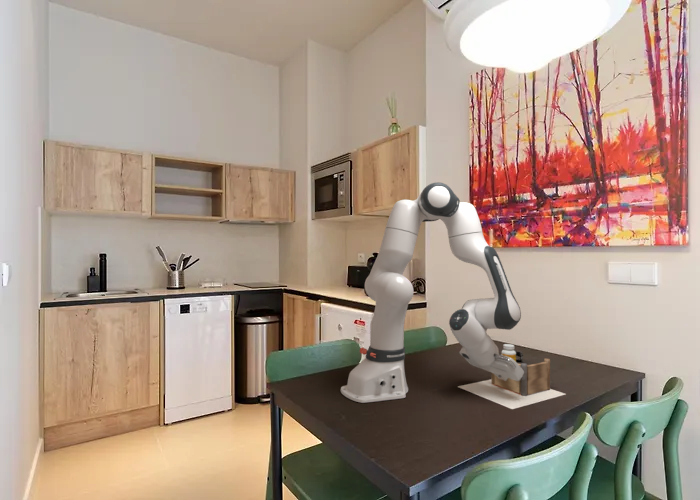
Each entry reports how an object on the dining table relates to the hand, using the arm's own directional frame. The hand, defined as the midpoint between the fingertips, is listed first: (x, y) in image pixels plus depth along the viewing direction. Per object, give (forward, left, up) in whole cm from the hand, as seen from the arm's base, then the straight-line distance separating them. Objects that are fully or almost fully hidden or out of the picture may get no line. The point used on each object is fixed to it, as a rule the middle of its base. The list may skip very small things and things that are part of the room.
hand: (503, 378), depth 134 cm
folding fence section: (+1, 0, -3) cm, 4 cm away
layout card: (+1, -2, -4) cm, 5 cm away
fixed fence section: (+7, -7, -4) cm, 10 cm away
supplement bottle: (+21, +15, -4) cm, 26 cm away
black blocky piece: (+36, +23, -5) cm, 43 cm away
